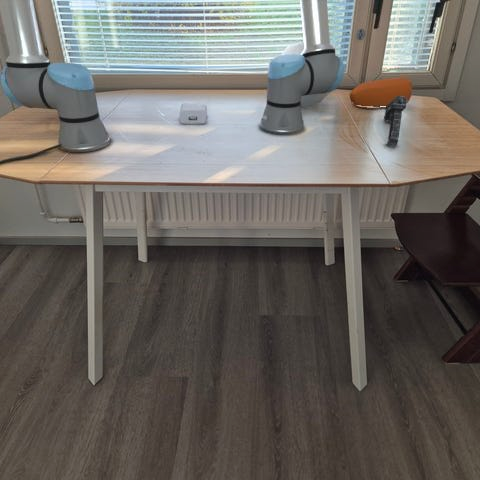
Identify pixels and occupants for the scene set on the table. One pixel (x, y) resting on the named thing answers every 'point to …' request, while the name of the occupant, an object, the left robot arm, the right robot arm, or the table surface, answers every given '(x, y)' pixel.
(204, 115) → the charger
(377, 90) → the clog
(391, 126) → the futuristic handgun
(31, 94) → the left robot arm
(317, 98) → the decorative sphere
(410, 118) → the table surface
